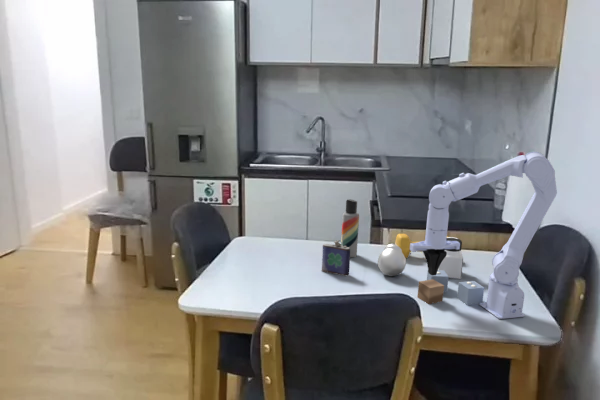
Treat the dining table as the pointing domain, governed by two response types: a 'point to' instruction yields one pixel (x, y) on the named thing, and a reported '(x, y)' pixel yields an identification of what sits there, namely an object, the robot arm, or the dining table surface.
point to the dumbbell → (404, 244)
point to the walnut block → (430, 291)
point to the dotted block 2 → (470, 292)
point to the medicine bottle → (453, 261)
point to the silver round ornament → (392, 260)
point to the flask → (336, 258)
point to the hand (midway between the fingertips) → (432, 274)
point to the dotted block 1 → (440, 278)
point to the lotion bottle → (350, 227)
